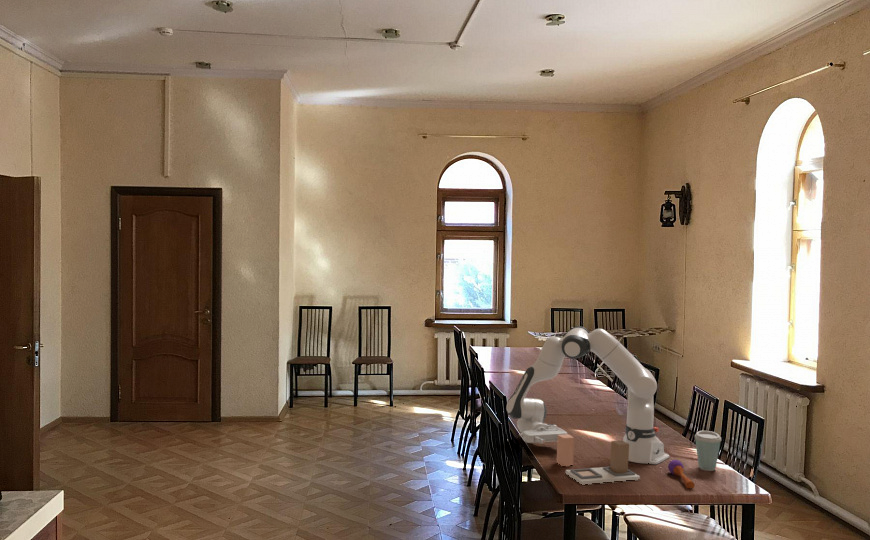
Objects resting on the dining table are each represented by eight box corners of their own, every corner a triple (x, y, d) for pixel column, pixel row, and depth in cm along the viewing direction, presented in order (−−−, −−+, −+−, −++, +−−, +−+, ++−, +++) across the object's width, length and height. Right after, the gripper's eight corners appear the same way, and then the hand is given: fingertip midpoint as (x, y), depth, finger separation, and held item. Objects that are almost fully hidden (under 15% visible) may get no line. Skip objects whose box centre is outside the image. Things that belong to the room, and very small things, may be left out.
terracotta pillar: (567, 462, 295) (568, 434, 294) (572, 465, 290) (574, 437, 290) (556, 462, 293) (557, 434, 293) (562, 466, 289) (563, 438, 288)
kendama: (681, 479, 268) (665, 458, 288) (683, 493, 268) (667, 472, 288) (697, 477, 268) (679, 456, 287) (698, 491, 268) (681, 470, 288)
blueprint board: (621, 469, 288) (622, 437, 288) (639, 480, 276) (641, 446, 275) (565, 473, 280) (567, 440, 279) (582, 485, 268) (583, 450, 267)
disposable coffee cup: (722, 474, 287) (724, 438, 287) (694, 471, 289) (696, 435, 289) (717, 466, 298) (719, 431, 297) (690, 463, 300) (692, 429, 299)
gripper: (517, 426, 312) (531, 435, 299) (558, 424, 318) (573, 432, 305) (517, 440, 312) (530, 449, 299) (557, 438, 319) (573, 446, 305)
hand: (552, 441), depth 302 cm, fingers open, 8 cm apart
